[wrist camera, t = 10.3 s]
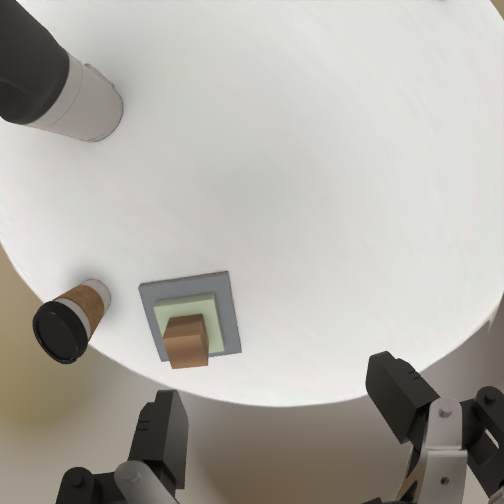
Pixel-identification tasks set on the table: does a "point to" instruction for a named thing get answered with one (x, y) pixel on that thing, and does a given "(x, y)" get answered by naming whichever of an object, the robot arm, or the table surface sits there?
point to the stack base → (192, 289)
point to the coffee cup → (71, 320)
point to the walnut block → (186, 341)
